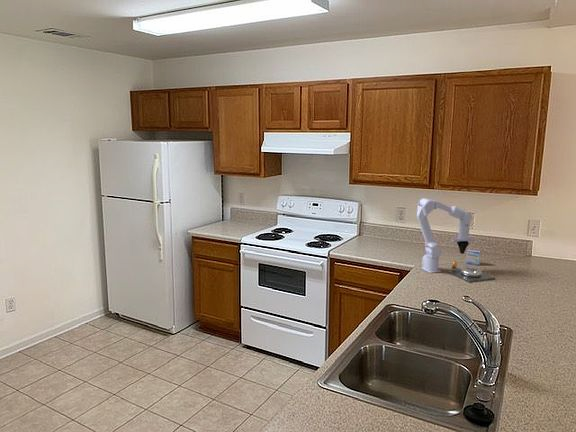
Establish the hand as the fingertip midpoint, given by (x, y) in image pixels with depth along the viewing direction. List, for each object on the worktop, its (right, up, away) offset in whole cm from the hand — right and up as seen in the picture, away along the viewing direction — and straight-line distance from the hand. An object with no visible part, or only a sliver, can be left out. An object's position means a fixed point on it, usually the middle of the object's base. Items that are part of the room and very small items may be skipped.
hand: (461, 253), depth 264 cm
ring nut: (0, -11, -6) cm, 12 cm away
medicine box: (+13, -8, +15) cm, 21 cm away
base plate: (+2, -12, -9) cm, 15 cm away
